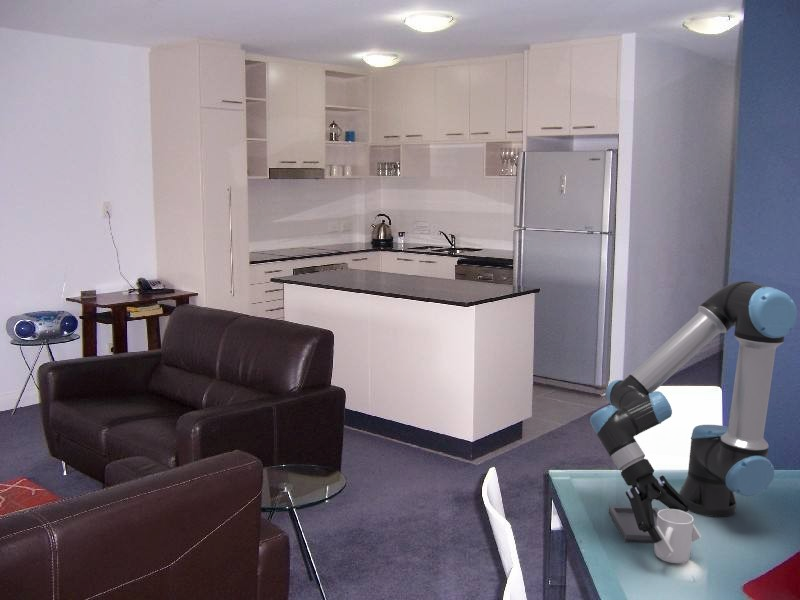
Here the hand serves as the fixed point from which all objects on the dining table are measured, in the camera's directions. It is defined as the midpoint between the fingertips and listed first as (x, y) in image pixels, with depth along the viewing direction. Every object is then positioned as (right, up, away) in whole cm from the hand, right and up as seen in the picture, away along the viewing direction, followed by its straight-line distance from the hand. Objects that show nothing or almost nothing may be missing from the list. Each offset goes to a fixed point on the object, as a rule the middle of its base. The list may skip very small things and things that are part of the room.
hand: (683, 546), depth 193 cm
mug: (-2, -4, +3) cm, 6 cm away
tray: (-4, -1, +21) cm, 21 cm away
